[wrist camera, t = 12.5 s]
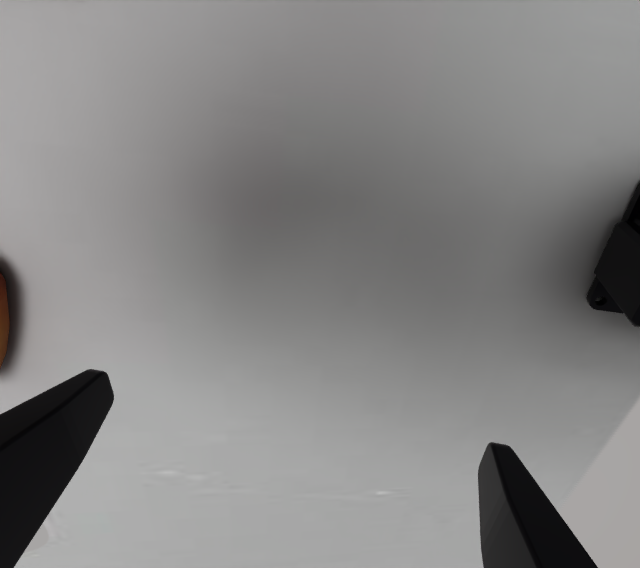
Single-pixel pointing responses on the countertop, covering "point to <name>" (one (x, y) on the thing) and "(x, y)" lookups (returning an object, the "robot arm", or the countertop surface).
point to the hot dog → (3, 319)
